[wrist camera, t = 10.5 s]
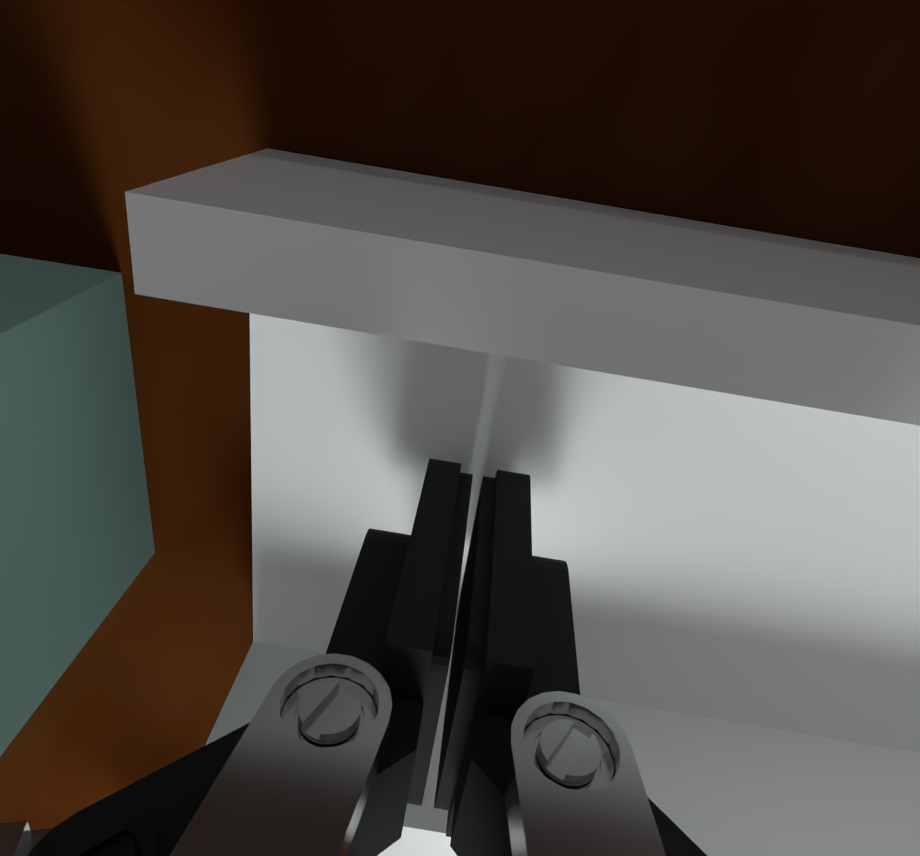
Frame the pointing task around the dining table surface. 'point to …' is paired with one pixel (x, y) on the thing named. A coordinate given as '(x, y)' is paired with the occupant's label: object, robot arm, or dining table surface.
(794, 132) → the dining table surface
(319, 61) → the dining table surface
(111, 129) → the dining table surface
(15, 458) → the green block
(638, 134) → the dining table surface
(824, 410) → the trough
